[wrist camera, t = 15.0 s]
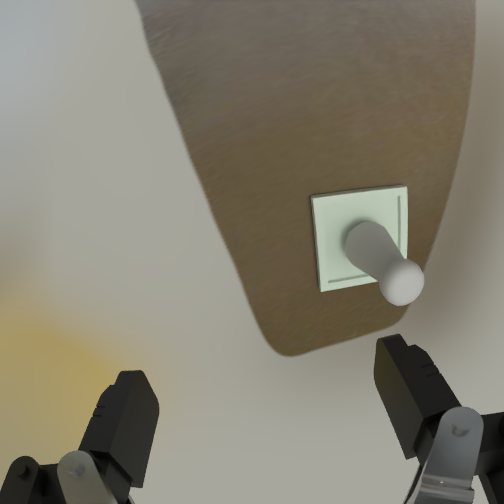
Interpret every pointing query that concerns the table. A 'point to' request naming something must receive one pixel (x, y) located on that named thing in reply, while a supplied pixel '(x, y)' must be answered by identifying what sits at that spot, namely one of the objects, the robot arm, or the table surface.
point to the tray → (346, 218)
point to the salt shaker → (384, 262)
